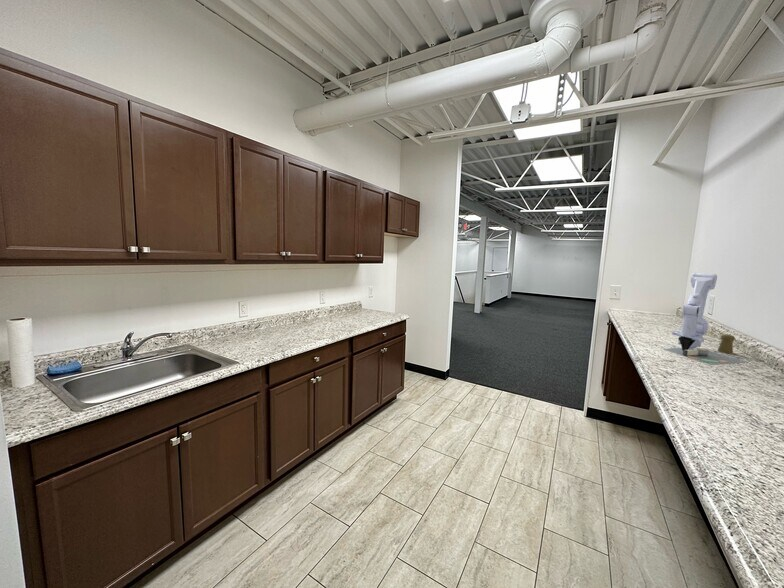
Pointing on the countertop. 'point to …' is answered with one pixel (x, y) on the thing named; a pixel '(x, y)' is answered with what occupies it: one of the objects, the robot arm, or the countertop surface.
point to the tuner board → (707, 357)
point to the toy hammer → (696, 351)
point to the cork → (726, 344)
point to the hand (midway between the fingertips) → (684, 350)
